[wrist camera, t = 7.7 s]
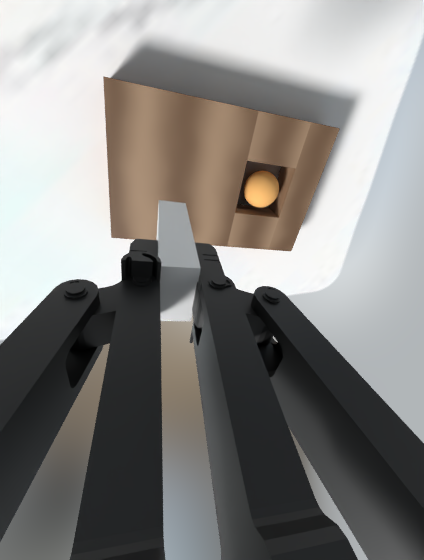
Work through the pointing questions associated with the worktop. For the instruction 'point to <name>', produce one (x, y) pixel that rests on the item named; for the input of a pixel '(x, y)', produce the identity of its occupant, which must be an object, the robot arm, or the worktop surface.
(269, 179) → the ball
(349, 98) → the worktop surface
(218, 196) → the wooden block with hole
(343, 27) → the worktop surface
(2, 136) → the worktop surface
